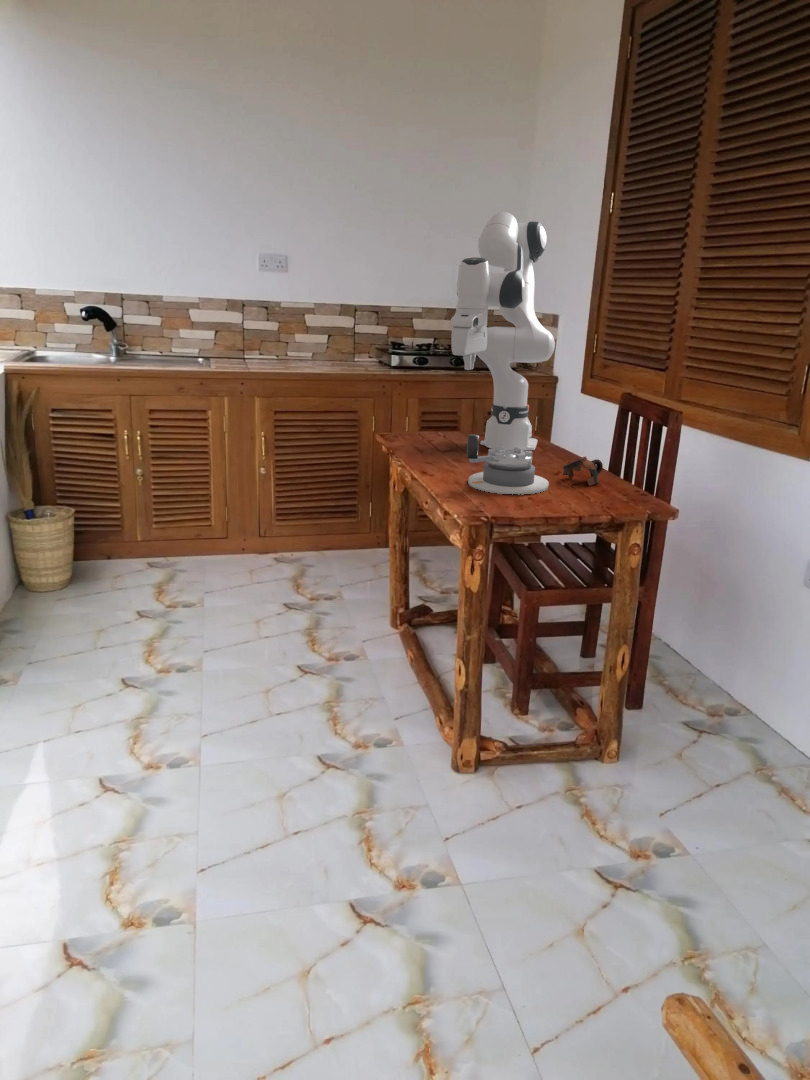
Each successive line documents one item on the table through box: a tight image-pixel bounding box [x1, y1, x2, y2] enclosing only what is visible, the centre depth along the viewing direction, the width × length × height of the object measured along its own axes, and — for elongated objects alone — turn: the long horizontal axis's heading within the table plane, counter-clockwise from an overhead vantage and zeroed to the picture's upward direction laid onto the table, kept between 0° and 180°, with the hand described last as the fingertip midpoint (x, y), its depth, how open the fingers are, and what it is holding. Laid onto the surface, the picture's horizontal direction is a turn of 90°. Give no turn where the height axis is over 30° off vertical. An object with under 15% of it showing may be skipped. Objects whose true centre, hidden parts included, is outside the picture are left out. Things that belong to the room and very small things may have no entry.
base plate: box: [467, 461, 550, 496], centre depth 221 cm, size 22×22×5 cm
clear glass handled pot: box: [466, 433, 533, 470], centre depth 217 cm, size 12×20×9 cm, turn 116°
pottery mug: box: [562, 456, 604, 487], centre depth 228 cm, size 12×10×8 cm
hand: (469, 369), depth 229 cm, fingers closed
